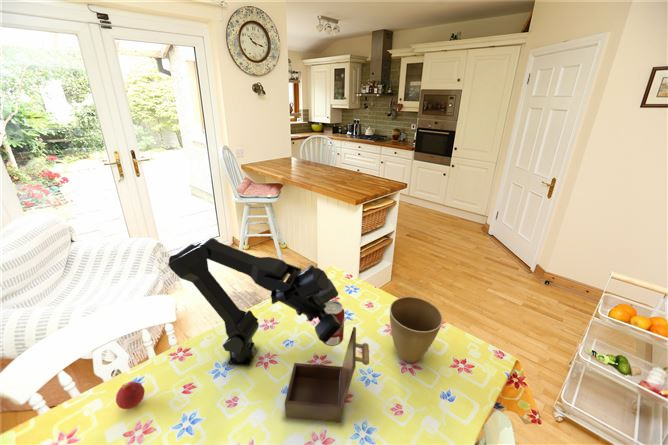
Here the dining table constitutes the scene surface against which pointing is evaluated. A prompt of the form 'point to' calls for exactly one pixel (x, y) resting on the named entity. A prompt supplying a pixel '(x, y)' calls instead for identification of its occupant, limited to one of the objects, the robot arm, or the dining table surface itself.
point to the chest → (314, 393)
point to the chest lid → (351, 363)
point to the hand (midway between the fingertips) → (336, 320)
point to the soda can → (338, 310)
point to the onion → (130, 395)
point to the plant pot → (413, 326)
